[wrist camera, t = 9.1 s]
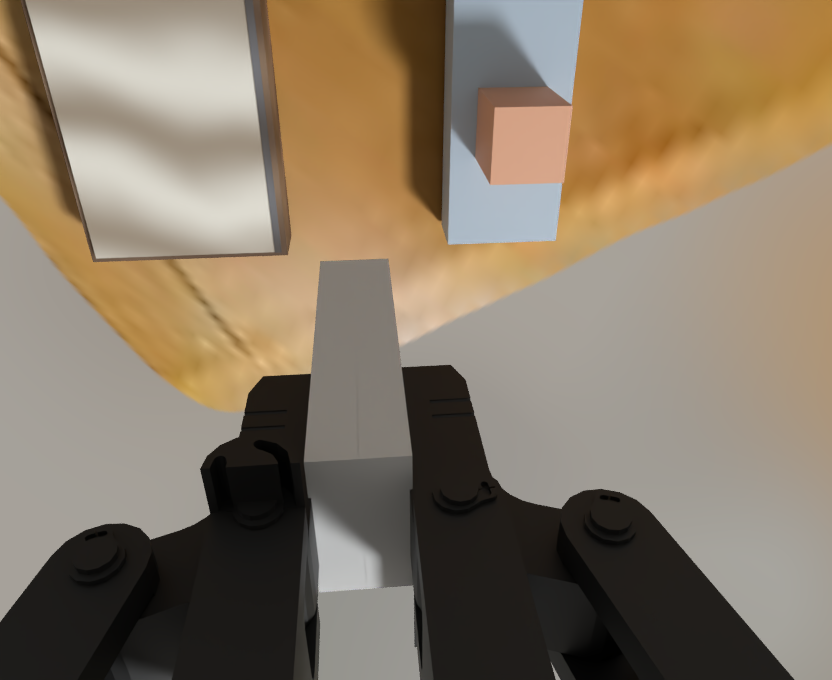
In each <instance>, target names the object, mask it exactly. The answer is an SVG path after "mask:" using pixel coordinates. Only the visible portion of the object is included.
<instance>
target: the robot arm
mask: <svg viewBox="0 0 832 680" xmlns="http://www.w3.org/2000/svg"><path fill="white" fill-rule="evenodd" d="M241 430H242V431H241V432H240V436H239V437H238V438H235V439H233V440H231V441H229V442H226V443H224V444H222V445H220V446H219V447H218V448H216V449H215V450H214V451H213V452H212V453H210V454H209V455H208V456H207V457H206V459H205V461H204V463H203V465H202V467H201V469H200V470H201V475H202V479H203V483H204V488H205V492H206V496H207V501H208V505H209V509H210V515H209V516H207V517H206V518H205V519H203V520H201V521H199V522H198V523H196V524H195V525H192V526H190V527H187V528H185V529H182V530H180V531H177V532H174V533H170V534H167V535H164V536H161V537H158V538H155V539H151V540H150V539H149V537H148V536H147V535H146V534H145V533H144V532H143V531H142V530H141V529H140V528H137V527H134V526H131V525H128V524H105V525H101V526H98V527H95V528H92V529H88V530H85V531H83V532H82V533H80V534H78V535H76V536H75V537H73V538H71V539H69V540H68V541H66V542H65V543H64V544H63V545H62V546H61V547H60V548H59V549H58V550H57V551H56V552H55V553H54V554H53V555H52V556H51V557H50V558H49V560H48V561H47V562H46V563H45V565H44V566H43V567H42V569H41V570H40V571H39V573H38V574H37V575H36V576H35V578H34V579H33V580H32V582H31V583H30V584H29V585H28V587H27V588H26V589H25V591H24V592H23V593H22V595H21V596H20V597H19V598H18V600H17V601H16V602H15V604H14V605H13V606H12V607H11V609H10V610H9V611H8V613H7V614H6V615H5V617H4V618H3V619H2V621H1V622H0V680H318V666H319V665H318V664H319V639H320V620H319V612H318V604H317V600H318V584H319V591H320V592H331V591H343V590H357V589H371V588H384V587H397V586H410V585H413V587H414V627H415V628H414V629H415V632H414V633H415V647H417V650H418V660H419V671H420V680H556V679H555V676H554V672H553V668H552V665H553V666H554V668H555V670H556V672H557V674H558V676H559V677H560V679H561V680H794V679H793V677H792V676H790V674H789V673H788V672H787V671H786V669H785V668H784V667H783V666H782V665H781V664H780V663H779V661H778V660H777V659H776V658H775V657H774V655H773V654H772V653H771V652H770V651H769V649H768V648H767V647H766V646H765V645H764V644H763V642H762V641H761V640H760V639H759V638H758V637H757V635H756V634H755V633H754V632H753V631H752V630H751V628H750V627H749V626H748V625H747V624H746V623H745V621H744V620H743V619H742V618H741V617H740V616H739V615H738V613H737V612H736V611H735V610H734V609H733V608H732V606H731V605H730V604H729V603H728V602H727V601H726V599H725V598H724V597H723V596H722V595H721V594H720V592H719V591H718V590H717V589H716V588H715V586H714V585H713V584H712V583H711V582H710V581H709V580H708V578H707V577H706V576H705V575H704V574H703V573H702V571H701V570H700V569H699V568H698V567H697V565H695V563H694V562H693V561H692V560H691V558H690V557H689V556H688V555H687V554H686V553H685V551H684V550H683V549H682V548H681V547H680V546H679V544H677V542H676V541H675V540H674V539H673V538H672V536H671V535H670V534H669V533H668V532H667V530H666V529H665V528H664V527H663V526H662V525H661V523H660V522H659V521H658V520H657V519H656V518H655V516H654V515H653V514H652V513H651V512H650V511H649V510H648V509H646V508H645V507H644V506H643V505H642V504H641V503H639V502H638V501H637V500H635V499H633V498H631V497H629V496H626V495H624V494H622V493H620V492H615V491H609V490H603V489H597V490H586V491H582V492H580V493H578V494H577V495H574V496H572V497H570V498H569V500H568V501H567V502H566V503H565V505H564V506H563V507H562V509H558V508H553V507H548V506H542V505H537V504H533V503H529V502H526V501H522V500H520V499H518V498H516V497H514V496H512V495H510V494H509V493H507V492H506V491H505V490H503V489H502V488H501V486H500V484H499V483H498V481H497V480H496V479H494V478H493V477H492V475H491V473H490V471H489V468H488V464H487V460H486V456H485V452H484V449H483V445H482V441H481V437H480V433H479V430H478V426H477V422H476V418H475V416H474V410H473V407H472V403H471V401H470V395H469V391H468V388H467V384H466V380H465V379H464V378H463V377H462V376H461V375H460V374H459V373H458V372H457V371H456V370H455V369H454V368H453V367H452V366H451V365H439V366H420V367H401V359H400V351H399V343H398V335H397V326H396V318H395V310H394V302H393V294H392V286H391V278H390V269H389V261H388V259H369V260H344V261H320V273H319V285H318V297H317V309H316V321H315V333H314V345H313V357H312V369H311V374H300V375H281V376H263V377H262V379H261V380H260V381H259V382H258V383H257V384H256V385H255V387H254V388H253V389H252V390H251V391H250V392H249V394H248V398H247V403H246V408H245V416H244V417H243V422H242V427H241ZM551 663H552V665H551Z"/></svg>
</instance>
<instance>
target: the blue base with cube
mask: <svg viewBox="0 0 832 680" xmlns="http://www.w3.org/2000/svg"><path fill="white" fill-rule="evenodd" d="M582 8H583V0H446V32H445V82H444V133H443V183H442V227H443V230H444V233H445V237H446V240H447V243H448V244H474V243H502V242H530V241H556V232H557V224H558V215H559V206H560V198H561V189H562V183H564V176H565V168H566V159H567V151H568V142H569V134H570V125H571V117H572V108H573V106H572V105H571V103H572V94H573V85H574V77H575V68H576V59H577V51H578V42H579V34H580V25H581V16H582Z"/></svg>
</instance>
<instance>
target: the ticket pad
mask: <svg viewBox="0 0 832 680" xmlns="http://www.w3.org/2000/svg"><path fill="white" fill-rule="evenodd" d="M21 4H22V7H23V11H24V15H25V18H26V22H27V25H28V29H29V33H30V36H31V40H32V43H33V47H34V51H35V54H36V58H37V61H38V65H39V69H40V72H41V76H42V79H43V83H44V87H45V90H46V94H47V97H48V101H49V105H50V108H51V112H52V115H53V119H54V123H55V126H56V130H57V133H58V137H59V141H60V144H61V148H62V151H63V155H64V159H65V162H66V166H67V169H68V173H69V177H70V180H71V184H72V187H73V191H74V195H75V198H76V202H77V205H78V209H79V213H80V216H81V220H82V224H83V227H84V231H85V234H86V238H87V242H88V245H89V249H90V252H91V256H92V260H93V262H109V261H136V260H164V259H191V258H218V257H246V256H273V255H288V251H289V245H290V240H291V228H290V218H289V209H288V199H287V190H286V180H285V171H284V161H283V152H282V142H281V133H280V124H279V114H278V105H277V95H276V86H275V76H274V67H273V57H272V48H271V38H270V29H269V19H268V10H267V1H266V0H21Z"/></svg>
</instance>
